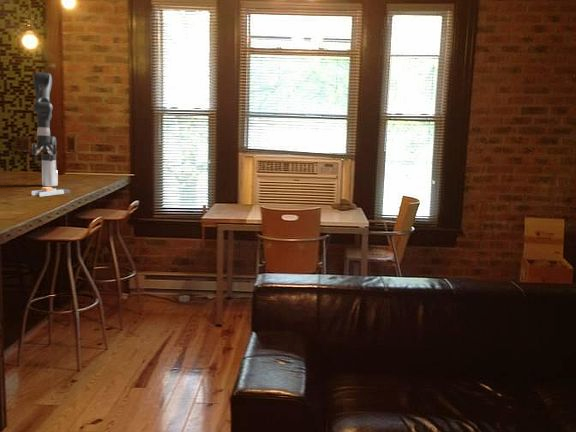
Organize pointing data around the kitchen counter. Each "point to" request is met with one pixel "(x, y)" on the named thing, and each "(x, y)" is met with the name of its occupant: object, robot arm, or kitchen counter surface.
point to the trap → (64, 190)
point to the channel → (48, 193)
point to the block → (46, 189)
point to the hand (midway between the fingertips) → (43, 161)
